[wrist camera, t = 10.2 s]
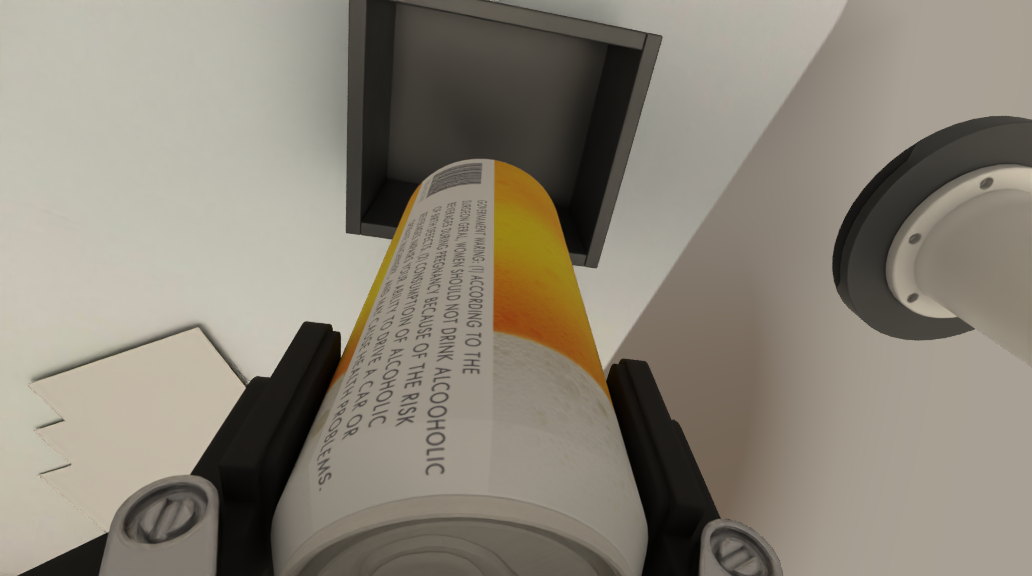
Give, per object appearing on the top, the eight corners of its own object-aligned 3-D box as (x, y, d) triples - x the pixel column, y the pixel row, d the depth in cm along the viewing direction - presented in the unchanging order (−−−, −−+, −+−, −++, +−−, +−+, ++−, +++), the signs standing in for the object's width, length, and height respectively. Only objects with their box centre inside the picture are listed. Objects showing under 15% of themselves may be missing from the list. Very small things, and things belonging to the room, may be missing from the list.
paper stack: (342, 500, 52) (340, 506, 52) (136, 557, 55) (132, 563, 55) (202, 322, 41) (197, 327, 41) (-46, 405, 44) (-53, 411, 44)
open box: (621, 27, 32) (663, 35, 24) (575, 213, 38) (597, 268, 30) (386, -20, 30) (348, -28, 22) (377, 183, 36) (345, 233, 28)
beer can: (448, 313, 22) (382, 753, 9) (377, 190, 19) (136, 576, 6) (578, 263, 21) (709, 676, 8) (523, 126, 18) (589, 428, 5)
